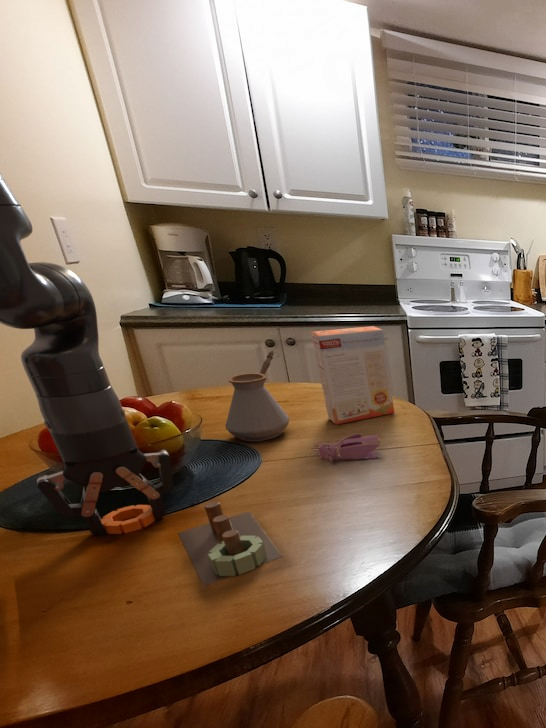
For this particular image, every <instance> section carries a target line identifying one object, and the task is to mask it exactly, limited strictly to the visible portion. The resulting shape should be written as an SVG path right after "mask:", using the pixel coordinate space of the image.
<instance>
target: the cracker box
mask: <svg viewBox="0 0 546 728" xmlns="http://www.w3.org/2000/svg"><path fill="white" fill-rule="evenodd" d="M310 333H311V339H312V343H313V348H314V353H315V359H316V362H317V364H316V365H317V368H318V374H319V379H320V383H321V388H322V391H323V392H322V393H323V397H324V402H325V407H326V412H327V416H328V419H329V420H330V421H331V422H332V423H333V424H334V425H336V426H337V425H342V424H346V423H352V422H356V421H360V420H365V419H370V418H376V417H381V416H385V415H391V414H395V405H394V400H393V399H394V398H393V392H392V386H391V378H390V371H389V362H388V356H387V350H386V343H385V336H384V335H385V334H384V330H383V329H381V328H379V327H377V326H374V325H371V326H360V327H350V328H348V327H347V328H338V329H326V330H318V331H316V330H315V331H311V332H310Z"/></svg>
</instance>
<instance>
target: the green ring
mask: <svg viewBox="0 0 546 728" xmlns="http://www.w3.org/2000/svg"><path fill="white" fill-rule="evenodd" d="M240 538H241V542H242V545H243V548H244V551H245V552H243V553H240V554H237V555H234V556H228V553H227V550H226V547H225V544H224V541H222V542H221V543H222V544H217V545H216V546H215V547H214V548H212V549H211V550H210V551H209V554H208V557H209V560H210V562H211V565H212V568H213V570H214V572H215V573H216V575H220V576H230V577H236V575H238V576H241V575H243V574H246V573H248V572H250V571H253V570H256V567H255V566H257V567H260V566H262V565H261V563H262V562H263V561H264V560H265V559H266V556H267V555H266V551H265V547H264V544H263V541H262V540H261V539H260V538H259V537H256V536H240ZM237 573H238V574H237Z"/></svg>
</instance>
